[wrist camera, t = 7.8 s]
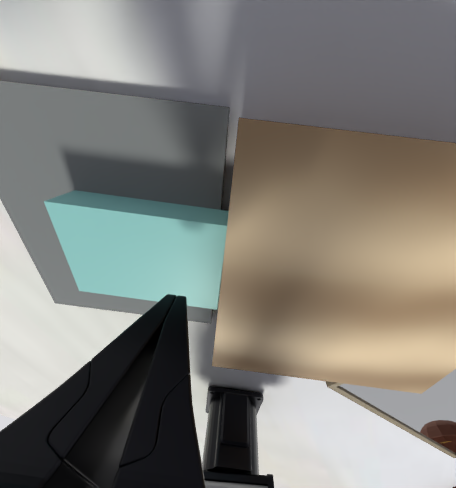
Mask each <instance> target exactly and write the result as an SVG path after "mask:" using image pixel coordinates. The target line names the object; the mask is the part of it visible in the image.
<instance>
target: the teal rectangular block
mask: <svg viewBox="0 0 456 488" xmlns="http://www.w3.org/2000/svg"><path fill="white" fill-rule="evenodd" d="M44 203H45V206H46V208H47V211H48V213H49V216H50V219H51V221H52V224H53V226H54V229H55V231H56V234H57V236H58V239H59V241H60V244H61V246H62V249H63V251H64V254H65V256H66V259H67V261H68V264H69V266H70V269H71V271H72V274H73V277H74V279H75V282H76V284H77V287H78V289H79V291H84V292H91V293H98V294H106V295H113V296H120V297H128V298H135V299H142V300H150V301H157V302H159V301H160V300H161V299H162V298H163V297H164V296H166V295H167V294H173V295H176V296H178V295H180V296H186V298H187V306H193V307H201V308H208V309H215V310H217V307H218V300H219V294H220V287H221V278H222V269H223V259H224V250H225V241H226V232H227V223H228V214H229V211H226V210H218V209H211V208H204V207H196V206H189V205H181V204H174V203H166V202H159V201H151V200H144V199H136V198H129V197H121V196H114V195H106V194H99V193H91V192H84V191H77V190H74V191H71V192H69V193H66V194H63V195H60V196H57V197H55V198H52V199H49V200H46V201H44Z"/></svg>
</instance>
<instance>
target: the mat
mask: <svg viewBox="0 0 456 488" xmlns="http://www.w3.org/2000/svg"><path fill="white" fill-rule="evenodd" d="M229 109H230V108H229V107H223V106H214V105H206V104H197V103H189V102H180V101H172V100H163V99H154V98H146V97H137V96H129V95H120V94H111V93H103V92H94V91H86V90H77V89H69V88H60V87H51V86H43V85H34V84H26V83H17V82H8V81H0V199H1V201H2V203H3V205H4V207H5V208H6V210H7V212H8V214H9V216H10V218H11V220H12V222H13V224H14V226H15V228H16V229H17V231H18V233H19V235H20V237H21V239H22V241H23V243H24V245H25V247H26V249H27V250H28V252H29V254H30V256H31V258H32V260H33V262H34V264H35V266H36V268H37V270H38V271H39V273H40V275H41V277H42V279H43V281H44V283H45V285H46V287H47V289H48V291H49V292H50V294H51V296H52V298H53V300H54V302H55V303H58V304H65V305H73V306H81V307H89V308H96V309H104V310H112V311H119V312H127V313H135V314H143V315H144V314H145V313H146V312H147V311H148V310H149V309H150V308H152V307H153V306H154V305H155V304H156V303H157V301H150V300H142V299H135V298H128V297H120V296H113V295H106V294H98V293H91V292H84V291H79V289H78V287H77V284H76V282H75V279H74V277H73V274H72V271H71V269H70V266H69V264H68V261H67V259H66V256H65V254H64V251H63V249H62V246H61V244H60V241H59V239H58V236H57V234H56V231H55V229H54V226H53V224H52V221H51V219H50V216H49V213H48V211H47V208H46V206H45V203H44V201H46V200H49V199H52V198H55V197H57V196H60V195H63V194H66V193H69V192H71V191H74V190H77V191H84V192H91V193H99V194H106V195H114V196H121V197H129V198H136V199H144V200H151V201H159V202H166V203H174V204H181V205H189V206H196V207H204V208H211V209H218V210H221V202H222V190H223V179H224V167H225V155H226V144H227V132H228V120H229ZM187 318H188V320H189V321H196V322H204V323H211V318H212V309H208V308H201V307H193V306H187Z"/></svg>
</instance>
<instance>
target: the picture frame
mask: <svg viewBox="0 0 456 488" xmlns="http://www.w3.org/2000/svg"><path fill="white" fill-rule="evenodd" d="M326 384H327V387H329V388H331V389H332V390H334V391H336V392H338V393H339V394H341V395H343V396H345V397H346V398H348V399H350V400H352V401H354V402H355V403H357V404H359V405H361V406H362V407H364V408H366V409H368V410H370V411H371V412H373V413H375V414H377V415H378V416H380V417H382V418H384V419H385V420H387V421H389V422H391V423H393V424H394V425H396V426H398V427H400V428H401V429H403V430H405V431H407V432H409V433H410V434H412V435H414V436H416V437H417V438H419V439H421V440H423V441H424V442H426V443H428V444H430V445H432V446H433V447H435V448H437V449H439V450H440V451H442V452H444V453H446V454H448V455H449V456H451V457H453V458H456V369H455V370H453V371H452V372H451V373H449V374H448V375H447V376H445V377H444V378H442V379H441V380H440V381H438V382H437V383H436V384H434V385H433V386H431V387H430V388H429V389H427V390H426V391H425V392H423V393H422V394H419V393H411V392H404V391H396V390H389V389H381V388H374V387H366V386H359V385H351V384H343V383H336V382H328V381H326Z"/></svg>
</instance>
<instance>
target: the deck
mask: <svg viewBox="0 0 456 488" xmlns="http://www.w3.org/2000/svg"><path fill="white" fill-rule="evenodd" d="M212 366H215V367H223V368H230V369H238V370H245V371H253V372H260V373H268V374H275V375H283V376H291V377H298V378H306V379H313V380H321V381H328V382H336V383H343V384H351V385H359V386H366V387H374V388H381V389H389V390H396V391H404V392H411V393H419V394H422V393H423V392H425V391H426V390H427V389H429V388H430V387H431V386H433V385H434V384H436V383H437V382H438V381H440V380H441V379H442V378H444V377H445V376H447V375H448V374H449V373H451V372H452V371H453V370H455V369H456V143H451V142H442V141H434V140H425V139H417V138H408V137H400V136H391V135H382V134H374V133H365V132H357V131H348V130H340V129H331V128H323V127H314V126H306V125H297V124H288V123H280V122H271V121H263V120H254V119H246V118H239V122H238V131H237V140H236V149H235V158H234V168H233V177H232V186H231V195H230V204H229V214H228V223H227V232H226V241H225V250H224V259H223V269H222V278H221V287H220V296H219V305H218V315H217V324H216V333H215V342H214V351H213V361H212Z"/></svg>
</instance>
